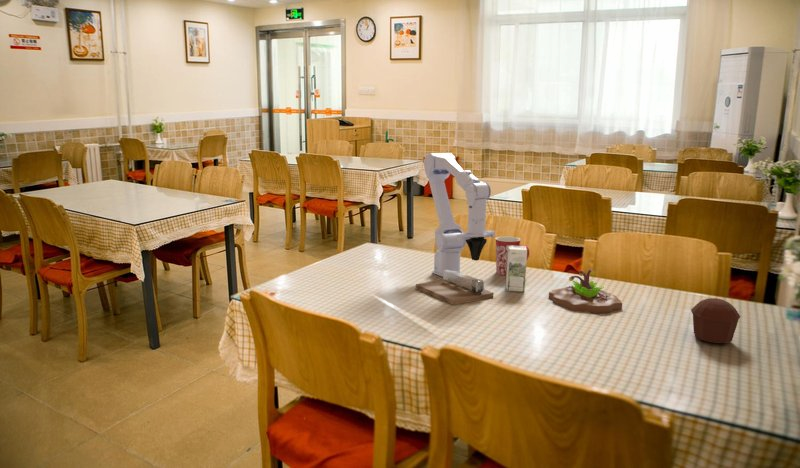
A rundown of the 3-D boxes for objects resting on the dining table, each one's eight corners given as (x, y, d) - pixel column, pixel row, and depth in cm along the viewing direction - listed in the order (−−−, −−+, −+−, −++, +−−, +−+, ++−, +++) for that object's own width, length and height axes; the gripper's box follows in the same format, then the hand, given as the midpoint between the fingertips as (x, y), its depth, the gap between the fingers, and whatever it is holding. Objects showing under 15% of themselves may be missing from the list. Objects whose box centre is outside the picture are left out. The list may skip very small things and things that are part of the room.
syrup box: (522, 287, 195) (525, 245, 192) (524, 292, 189) (527, 249, 186) (505, 287, 195) (507, 244, 192) (507, 292, 189) (509, 248, 187)
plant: (573, 315, 168) (576, 278, 166) (540, 296, 187) (542, 262, 185) (633, 311, 173) (636, 274, 171) (595, 292, 192) (597, 259, 190)
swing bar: (485, 291, 181) (485, 281, 181) (476, 292, 179) (476, 282, 179) (450, 278, 196) (451, 268, 196) (442, 279, 194) (442, 270, 194)
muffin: (694, 326, 160) (698, 291, 158) (740, 336, 153) (745, 299, 151) (683, 338, 151) (687, 301, 149) (731, 349, 144) (736, 310, 142)
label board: (415, 288, 192) (416, 282, 191) (454, 282, 200) (454, 276, 200) (452, 304, 175) (452, 298, 175) (493, 297, 183) (493, 291, 183)
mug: (489, 275, 209) (490, 238, 207) (500, 270, 217) (502, 235, 214) (521, 281, 202) (523, 243, 200) (532, 276, 209) (534, 239, 207)
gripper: (467, 222, 183) (465, 264, 185) (501, 219, 190) (499, 260, 193) (453, 219, 189) (452, 260, 191) (487, 216, 196) (486, 255, 199)
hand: (475, 259), depth 193 cm, fingers closed
